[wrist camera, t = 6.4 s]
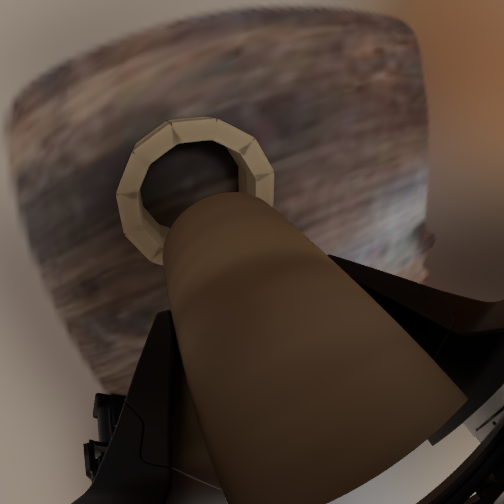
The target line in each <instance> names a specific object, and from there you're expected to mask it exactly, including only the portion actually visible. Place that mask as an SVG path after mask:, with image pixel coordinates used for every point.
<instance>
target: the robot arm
mask: <svg viewBox="0 0 504 504" xmlns="http://www.w3.org/2000/svg"><path fill="white" fill-rule="evenodd" d="M327 256H328V257H329V258H330V259H331V260H333V261H334V262H335V263H336V264H337V265H338V266H339V267H340V268H341V269H342V270H343V271H344V272H345V273H347V274H348V275H349V276H350V277H351V278H352V279H353V280H354V281H355V282H356V283H357V284H358V285H359V286H360V287H361V288H362V289H363V290H364V291H366V292H367V293H368V294H369V295H370V296H371V297H372V298H373V299H374V300H375V301H376V302H377V303H378V304H379V305H380V306H381V307H382V308H383V309H384V310H385V311H386V312H387V313H388V314H389V315H390V316H391V317H392V318H393V319H394V320H395V321H396V322H397V323H398V324H399V325H400V326H401V327H402V328H403V329H404V330H405V331H406V332H407V333H408V334H409V335H410V336H411V337H412V338H413V339H414V340H415V341H416V342H417V343H418V344H419V345H420V346H421V348H422V349H423V350H424V351H425V352H426V353H427V354H428V355H429V356H430V357H431V358H432V359H433V360H434V361H435V362H436V363H437V365H438V366H439V367H440V368H441V369H442V370H443V371H444V372H445V373H446V374H447V375H448V377H449V378H450V379H451V380H452V381H453V382H454V383H455V384H456V385H457V387H458V388H459V389H460V390H461V391H462V392H463V393H464V395H465V396H466V397H467V398H468V400H467V401H466V402H465V403H464V404H463V405H462V407H461V408H460V409H459V410H458V411H457V412H456V413H455V414H454V415H453V416H452V417H451V418H450V419H449V420H448V421H447V422H446V423H445V424H444V425H443V426H441V427H440V428H439V429H438V430H437V431H436V432H435V433H434V434H433V435H431V436H430V437H429V438H428V440H429V442H430V443H431V445H432V446H433V445H435V444H436V443H438V442H439V441H440V440H442V439H443V438H444V437H446V436H447V435H448V434H450V433H451V432H452V431H453V430H455V429H456V428H457V427H458V426H460V425H461V424H462V423H464V425H465V426H466V427H467V428H468V430H469V431H470V432H471V433H472V435H473V436H474V437H475V436H476V438H477V439H478V440H479V441H480V443H481V444H480V445H479V446H478V447H477V448H476V449H475V450H474V452H473V453H472V454H471V455H470V456H469V457H468V458H467V459H466V460H465V461H464V462H463V463H462V464H461V465H460V466H459V467H458V468H457V469H456V470H455V471H454V472H453V473H452V474H451V475H450V476H449V477H447V478H446V479H445V480H444V481H443V482H442V483H441V484H440V485H439V486H437V487H436V488H435V489H434V490H433V491H432V492H430V493H429V494H428V495H427V496H425V497H424V498H423V499H422V500H420V501H419V502H418V503H416V504H504V300H500V301H497V302H484V301H479V300H476V299H471V298H467V297H464V296H460V295H456V294H452V293H449V292H445V291H441V290H438V289H435V288H432V287H429V286H426V285H423V284H418V283H417V282H414V281H411V280H408V279H405V278H402V277H399V276H395V275H392V274H389V273H386V272H383V271H380V270H377V269H374V268H371V267H368V266H365V265H361V264H358V263H355V262H352V261H349V260H346V259H343V258H339V257H336V256H333V255H327ZM93 417H94V418H97V419H98V431H99V442H98V441H93V440H89V443H86V444H84V457H85V467H86V476H87V477H88V478H89V479H91V481H92V485H91V486H90V487H89V489H88V490H87V491H86V492H85V493H84V494H83V495H82V496H81V497H79V498H78V499H77V500H75V501H74V502H73V503H71V504H227V502H226V499H225V496H224V493H223V491H222V488H221V485H220V483H219V480H218V478H217V475H216V472H215V469H214V467H213V464H212V461H211V458H210V456H209V453H208V450H207V447H206V444H205V441H204V438H203V435H202V431H201V428H200V425H199V422H198V419H197V415H196V412H195V408H194V405H193V401H192V398H191V394H190V391H189V387H188V383H187V379H186V375H185V371H184V367H183V363H182V359H181V355H180V351H179V346H178V342H177V337H176V333H175V328H174V323H173V318H172V313H171V311H170V310H165V311H162V312H159V313H158V314H157V315H156V318H155V320H154V323H153V325H152V328H151V330H150V333H149V335H148V338H147V340H146V343H145V346H144V348H143V351H142V354H141V356H140V359H139V362H138V365H137V367H136V370H135V373H134V376H133V379H132V381H131V384H130V387H129V390H128V393H127V396H126V397H120V396H113V395H107V394H102V393H97V394H96V396H95V403H94V410H93ZM95 457H97V458H98V459H97V458H95ZM474 492H476V494H475V495H473V496H472V497H470V496H471V495H472V494H473V493H474Z"/></svg>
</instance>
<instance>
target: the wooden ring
mask: <svg viewBox="0 0 504 504" xmlns="http://www.w3.org/2000/svg"><path fill="white" fill-rule="evenodd" d="M206 140H213V141H215V142H217V143H220V144H222V145H224V146H226V148H227V150H228V151H229V153H230V154H231V156H232V157H233V159H234V161H235V162H236V164H237V165H238V182H239V191H238V192H240V193H246V194H250V195H253V196H256V197H258V198H260V199H262V200H264V201H265V202H266V203H268V204H269V205H270V206H271V207H273V200H274V173H273V172H274V171H273V169H272V167H271V165H270V164H269V162H268V160H267V158H266V156H265V155H264V153H263V151H262V149H261V148H260V146H259V144H258V142H257V141H256V139H254V137H252V136H250V135H248V134H246V133H245V132H243V131H241V130H239V129H237V128H235V127H233V126H231V125H229V124H227V123H225V122H223V121H221V120H219V119H215V118H209V117H194V118H184V119H175V120H168V122H167V121H165V122H164V123H163V124H161V125H160V126H159V127H157V128H156V129H154V130H153V131H152V132H150V133H149V134H148V135H146V136H145V137H144V138H143V139H141V140H140V141H139V142H137V143H136V145H135V146H134V149H133V151H132V153H131V156H130V158H129V161H128V163H127V166H126V168H125V171H124V173H123V176H122V178H121V181H120V184H119V187H118V190H117V192H116V193H117V194H116V198H117V203H118V208H119V213H120V218H121V223H122V227H123V232H124V234H125V236H126V237H127V238H128V239H129V240H130V241H131V242H132V243H133V244H134V245H135V246H136V248H137V249H138V250H139V251H140V252H141V253H142V254H143V255H144V256H145V257H146V258H147V259H148V260H149V261H152V263H156V264H159V265H163V247H164V242H165V239H166V236H167V234H168V232H169V230H170V228H169V227H166V226H162V225H159V224H158V223H157V221H156V220H155V219H154V218H153V217H152V216H151V215H150V213H149V212H148V211H147V210H146V209H145V208H144V206H143V203H142V197H141V191H140V187H141V185H142V182H143V180H144V177H145V175H146V173H147V170H148V168H149V166H150V164H151V163H153V162H154V161H155V160H157V159H158V158H159V157H161V156H162V155H163V154H165V153H166V152H167V151H169V150H170V149H171V148H173V147H174V146H175V145H177V144H179V143H187V142H196V141H206Z"/></svg>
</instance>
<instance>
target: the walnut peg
mask: <svg viewBox="0 0 504 504" xmlns="http://www.w3.org/2000/svg"><path fill="white" fill-rule="evenodd" d="M163 267H164V273H165V279H166V285H167V291H168V297H169V302H170V308H171V313H172V318H173V323H174V328H175V333H176V337H177V342H178V346H179V351H180V355H181V359H182V363H183V367H184V371H185V375H186V379H187V383H188V387H189V391H190V394H191V398H192V401H193V405H194V408H195V412H196V415H197V419H198V422H199V425H200V428H201V431H202V435H203V438H204V441H205V444H206V447H207V450H208V453H209V456H210V458H211V461H212V464H213V467H214V469H215V472H216V475H217V478H218V480H219V483H220V485H221V488H222V490H223V493H224V495H225V498H226V500H227V502H228V504H326V503H329V502H331V501H333V500H335V499H337V498H339V497H341V496H343V495H345V494H347V493H349V492H350V491H352V490H354V489H356V488H358V487H359V486H361V485H363V484H364V483H366V482H368V481H370V480H371V479H373V478H374V477H376V476H378V475H379V474H381V473H382V472H384V471H385V470H387V469H388V468H390V467H391V466H393V465H394V464H396V463H397V462H398V461H400V460H401V459H403V458H404V457H405V456H406V455H408V454H409V453H411V452H412V451H413V450H414V449H416V448H417V447H418V446H419V445H421V444H422V443H423V442H424V441H425V440H427V439H428V438H429V437H430V436H431V435H433V434H434V433H435V432H436V431H437V430H438V429H439V428H440V427H441V426H443V425H444V424H445V423H446V422H447V421H448V420H449V419H450V418H451V417H452V416H453V415H454V414H455V413H456V412H457V411H458V410H459V409H460V408H461V407H462V405H463V404H464V403H465V402H466V401H467V400H468V398H467V397H466V396H465V395H464V393H463V392H462V391H461V390H460V389H459V388H458V387H457V385H456V384H455V383H454V382H453V381H452V380H451V379H450V378H449V377H448V375H447V374H446V373H445V372H444V371H443V370H442V369H441V368H440V367H439V366H438V365H437V363H436V362H435V361H434V360H433V359H432V358H431V357H430V356H429V355H428V354H427V353H426V352H425V351H424V350H423V349H422V348H421V346H420V345H419V344H418V343H417V342H416V341H415V340H414V339H413V338H412V337H411V336H410V335H409V334H408V333H407V332H406V331H405V330H404V329H403V328H402V327H401V326H400V325H399V324H398V323H397V322H396V321H395V320H394V319H393V318H392V317H391V316H390V315H389V314H388V313H387V312H386V311H385V310H384V309H383V308H382V307H381V306H380V305H379V304H378V303H377V302H376V301H375V300H374V299H373V298H372V297H371V296H370V295H369V294H368V293H367V292H366V291H364V290H363V289H362V288H361V287H360V286H359V285H358V284H357V283H356V282H355V281H354V280H353V279H352V278H351V277H350V276H349V275H348V274H347V273H345V272H344V271H343V270H342V269H341V268H340V267H339V266H338V265H337V264H336V263H335V262H334V261H333V260H331V259H330V258H329V257H328V256H327V255H326V254H325V253H324V252H323V251H322V250H320V249H319V248H318V247H317V246H316V245H315V244H314V243H313V242H312V241H310V240H309V239H308V238H307V237H306V236H305V235H304V234H303V233H301V232H300V231H299V230H298V229H297V228H296V227H295V226H293V225H292V224H291V223H290V222H289V221H288V220H287V219H285V218H284V217H283V216H282V215H281V214H280V213H278V212H277V211H276V210H275V209H274V208H273V207H271V206H270V205H269V204H268V203H266V202H265V201H264V200H262V199H260V198H258V197H256V196H253V195H250V194H246V193H240V192H225V193H219V194H215V195H212V196H209V197H206V198H204V199H202V200H200V201H198V202H196V203H194V204H193V205H191V206H190V207H189V208H187V209H186V210H185V211H184V212H183V213H182V214H181V215H180V216H179V217H178V218H177V219H176V220H175V222H174V223H173V225H172V226H171V228H170V230H169V232H168V234H167V236H166V239H165V242H164V247H163Z"/></svg>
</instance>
